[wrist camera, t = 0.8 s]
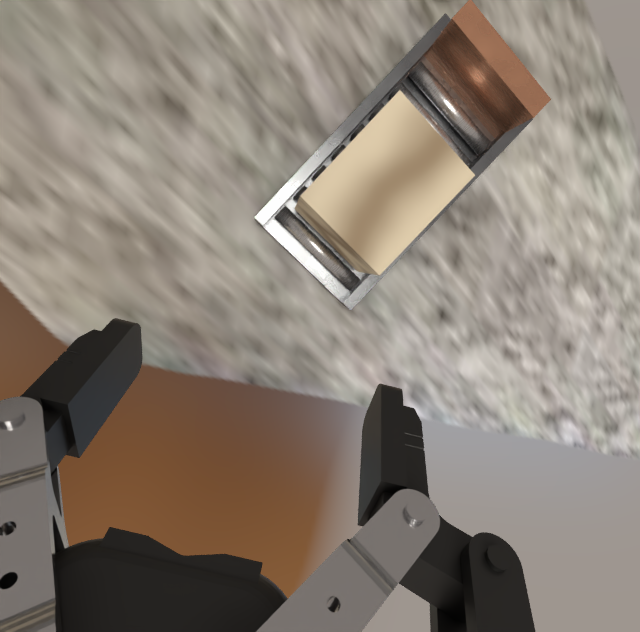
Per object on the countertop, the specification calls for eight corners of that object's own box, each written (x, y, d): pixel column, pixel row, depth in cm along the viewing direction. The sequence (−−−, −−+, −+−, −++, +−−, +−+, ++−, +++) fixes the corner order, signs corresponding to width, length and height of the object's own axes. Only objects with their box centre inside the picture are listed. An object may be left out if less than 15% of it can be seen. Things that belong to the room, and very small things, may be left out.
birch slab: (294, 208, 37) (300, 196, 29) (372, 125, 37) (399, 89, 29) (357, 271, 38) (379, 275, 30) (433, 192, 38) (475, 175, 30)
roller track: (255, 220, 39) (251, 212, 32) (433, 30, 38) (468, -19, 32) (345, 306, 41) (360, 316, 34) (515, 128, 41) (564, 102, 34)
